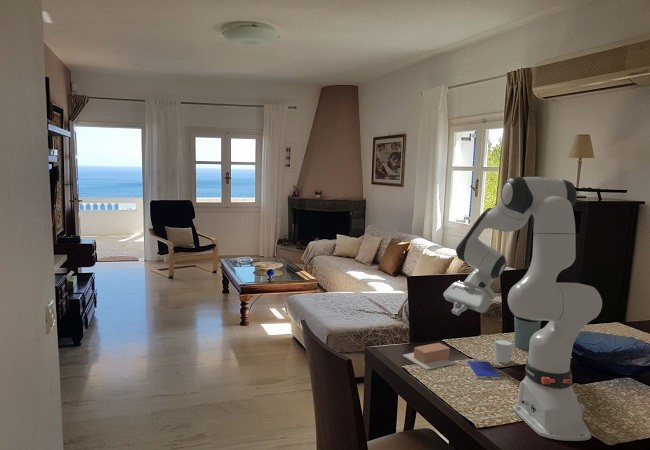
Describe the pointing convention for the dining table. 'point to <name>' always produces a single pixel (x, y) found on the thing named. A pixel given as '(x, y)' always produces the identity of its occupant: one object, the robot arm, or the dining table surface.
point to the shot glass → (503, 350)
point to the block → (431, 352)
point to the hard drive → (483, 370)
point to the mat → (428, 365)
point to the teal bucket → (525, 331)
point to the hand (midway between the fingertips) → (454, 313)
